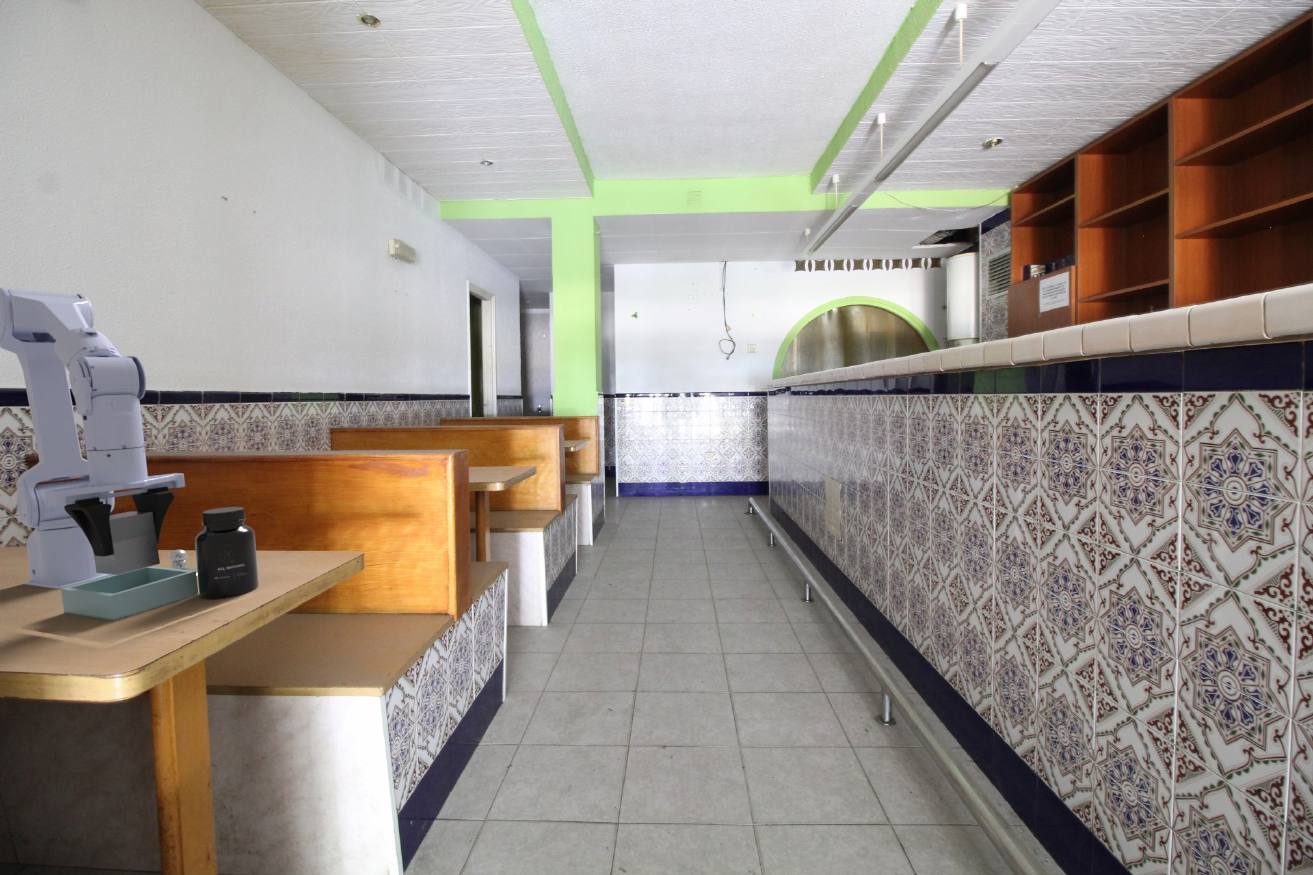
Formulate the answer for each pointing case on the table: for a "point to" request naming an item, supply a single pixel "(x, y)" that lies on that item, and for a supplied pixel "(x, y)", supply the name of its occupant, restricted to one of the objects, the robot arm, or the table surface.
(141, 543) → the block
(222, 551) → the supplement bottle
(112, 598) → the bin
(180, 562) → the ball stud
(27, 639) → the table surface
